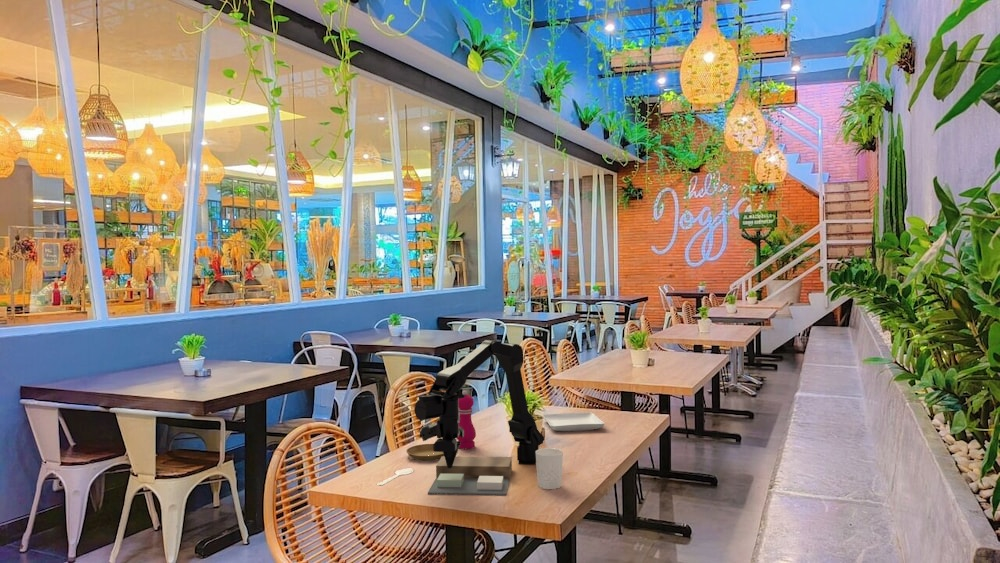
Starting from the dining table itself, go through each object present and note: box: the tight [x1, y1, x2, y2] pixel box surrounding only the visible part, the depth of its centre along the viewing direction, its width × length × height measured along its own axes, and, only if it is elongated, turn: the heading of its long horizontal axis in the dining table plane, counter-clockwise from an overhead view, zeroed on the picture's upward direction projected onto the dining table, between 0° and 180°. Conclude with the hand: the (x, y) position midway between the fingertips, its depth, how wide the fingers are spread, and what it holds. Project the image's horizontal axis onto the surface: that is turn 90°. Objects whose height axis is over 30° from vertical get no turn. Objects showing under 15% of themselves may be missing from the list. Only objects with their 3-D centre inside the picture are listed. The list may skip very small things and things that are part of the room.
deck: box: [435, 456, 513, 481], centre depth 209 cm, size 22×10×4 cm, turn 85°
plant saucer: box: [406, 443, 444, 462], centre depth 230 cm, size 15×15×3 cm
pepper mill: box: [456, 389, 477, 450], centre depth 240 cm, size 7×7×20 cm
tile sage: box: [437, 474, 464, 487], centre depth 199 cm, size 7×6×2 cm
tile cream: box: [477, 476, 503, 490], centre depth 196 cm, size 7×6×2 cm
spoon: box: [376, 467, 415, 486], centre depth 208 cm, size 5×18×1 cm, turn 156°
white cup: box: [535, 447, 564, 490], centre depth 197 cm, size 8×8×10 cm
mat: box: [427, 477, 510, 496], centre depth 197 cm, size 22×13×1 cm, turn 85°
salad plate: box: [541, 412, 605, 432], centre depth 269 cm, size 21×21×3 cm
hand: (449, 467), depth 200 cm, fingers closed
